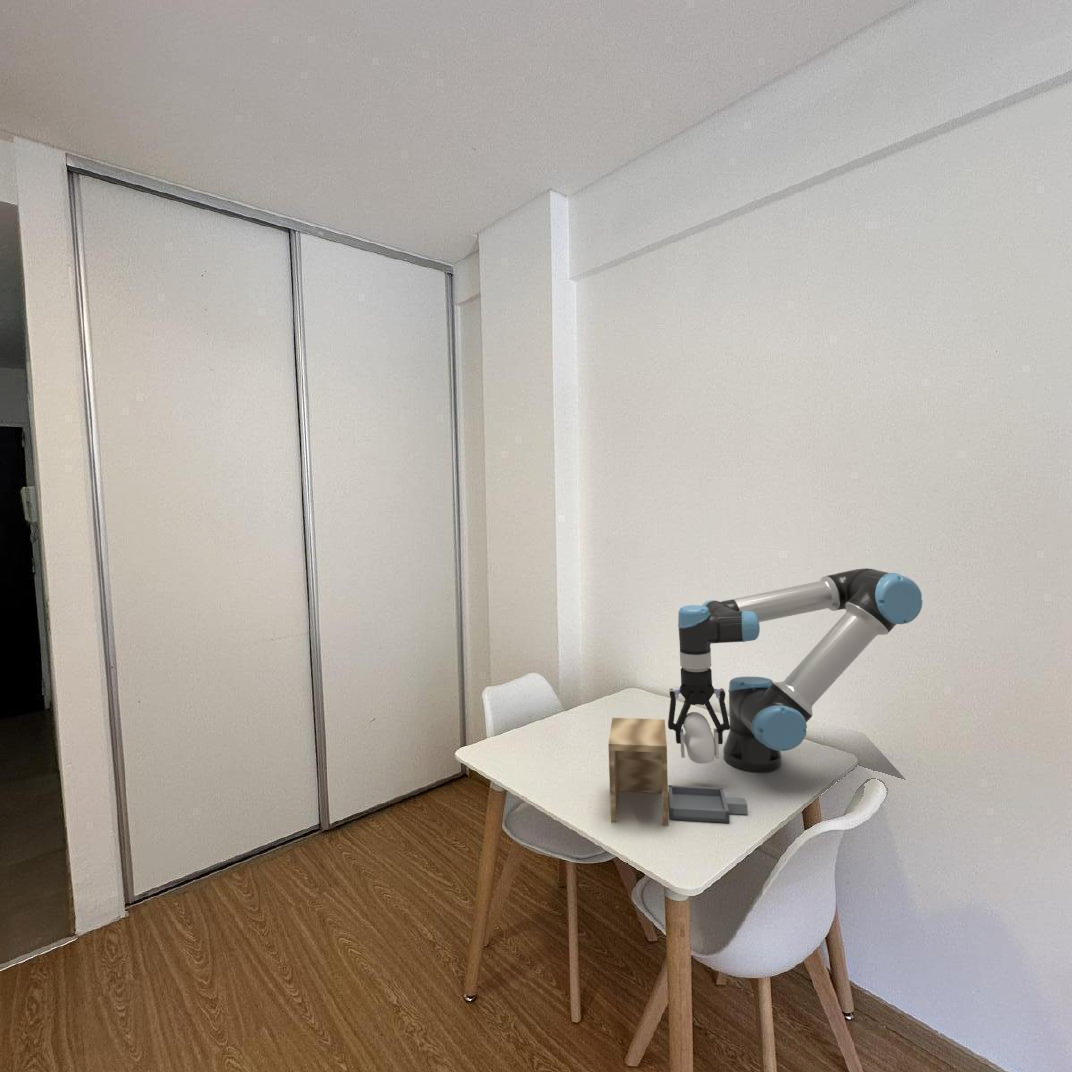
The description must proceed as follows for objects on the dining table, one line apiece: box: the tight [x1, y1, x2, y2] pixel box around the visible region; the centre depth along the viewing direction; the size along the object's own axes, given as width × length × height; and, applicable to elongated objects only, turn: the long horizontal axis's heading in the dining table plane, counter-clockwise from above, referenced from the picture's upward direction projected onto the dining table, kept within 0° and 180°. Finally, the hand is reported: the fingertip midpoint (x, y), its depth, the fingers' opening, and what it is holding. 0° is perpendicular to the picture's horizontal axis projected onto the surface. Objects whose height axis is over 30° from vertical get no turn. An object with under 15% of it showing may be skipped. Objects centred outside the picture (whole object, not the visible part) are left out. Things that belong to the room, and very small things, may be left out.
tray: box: [668, 784, 748, 824], centre depth 140 cm, size 18×11×3 cm, turn 80°
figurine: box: [682, 711, 716, 765], centre depth 151 cm, size 7×8×12 cm
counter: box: [608, 717, 670, 827], centre depth 143 cm, size 13×16×18 cm
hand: (699, 755), depth 151 cm, fingers closed on figurine, 8 cm apart
